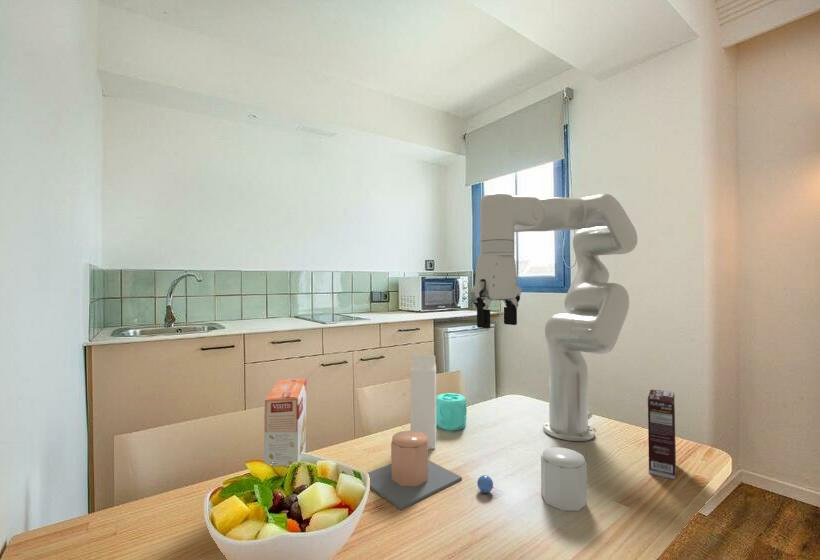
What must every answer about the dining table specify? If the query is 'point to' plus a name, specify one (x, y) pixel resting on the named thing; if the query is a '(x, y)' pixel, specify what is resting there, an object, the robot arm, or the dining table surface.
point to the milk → (423, 396)
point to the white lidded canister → (564, 479)
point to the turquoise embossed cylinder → (451, 411)
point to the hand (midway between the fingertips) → (497, 326)
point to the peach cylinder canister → (409, 458)
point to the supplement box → (661, 433)
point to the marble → (485, 483)
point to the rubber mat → (410, 494)
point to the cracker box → (285, 422)
